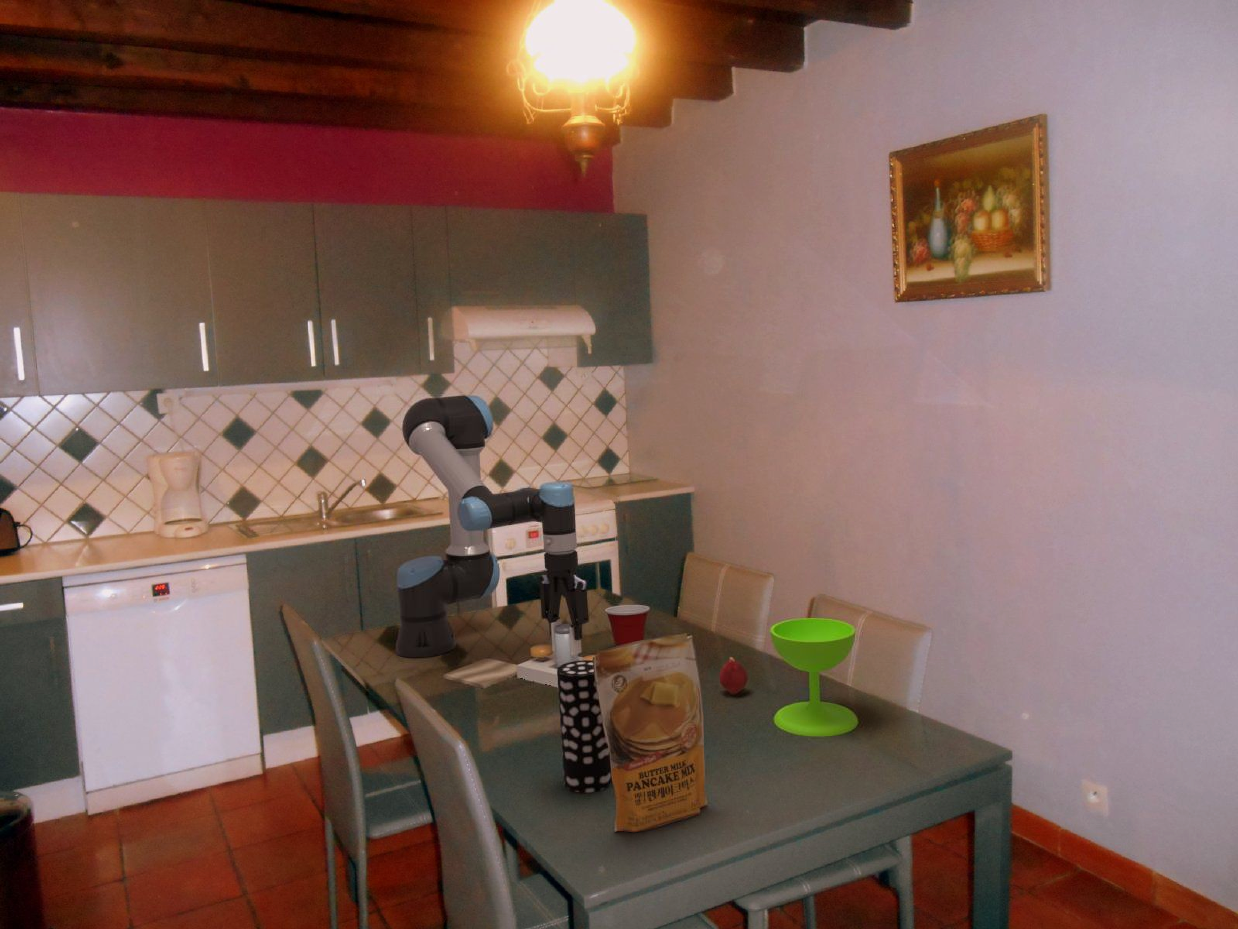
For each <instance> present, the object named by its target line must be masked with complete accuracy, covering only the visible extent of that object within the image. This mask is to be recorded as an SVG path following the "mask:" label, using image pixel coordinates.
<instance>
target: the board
mask: <svg viewBox="0 0 1238 929" xmlns="http://www.w3.org/2000/svg"><path fill="white" fill-rule="evenodd" d="M517 665H518V664H515V663H510V662H507V661H500V660H497V659H492V658H489V657H488V658H483V659H481V660H479V661H475V662H473V663H471V664H468V665H465V666H463V667H460V668H457V669H454V670H452V671H450V672H447V673H444V674H442V678H443V679H445V680H450V681H453V682H456V683H462V684H465V685H468V684H469V686H471V687H472V686H473V687H476V688H481V689H487V688H489V687H491V685H492V686H494V685H497V684H499V683H501V682H504V681H506V680H508V679H507V678H509V679H511V678H513V676H514V677H516V676H517ZM515 675H516V676H515ZM500 681H501V682H500ZM498 682H499V683H498ZM493 684H494V685H493Z"/></svg>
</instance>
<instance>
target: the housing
mask: <svg viewBox="0 0 1238 929" xmlns="http://www.w3.org/2000/svg"><path fill="white" fill-rule="evenodd" d="M582 658H583V657H582V656H578V659H579V661H580V660H582ZM516 665H517V675H516V676H517V679H520V678H523V679H522V680H524V679H525V680H524V681H529V682H533V681H534V682H533V683H538V684H542V685H545V684H547V686H549V685H551V686H550V687H554V688H558V680H557V660H556V651H553V654H552V655H550V656H547V661H545V662H543V663H542V662H538V657H534V658H532V659H529V660H527V661H523V662H521V663H519V664H516Z"/></svg>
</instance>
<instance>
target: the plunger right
mask: <svg viewBox="0 0 1238 929" xmlns="http://www.w3.org/2000/svg"><path fill="white" fill-rule="evenodd" d="M595 655H596V654H591V655H586V656H584V657H583V658H582V660H593V659H592V658H593V657H594V656H595Z"/></svg>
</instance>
